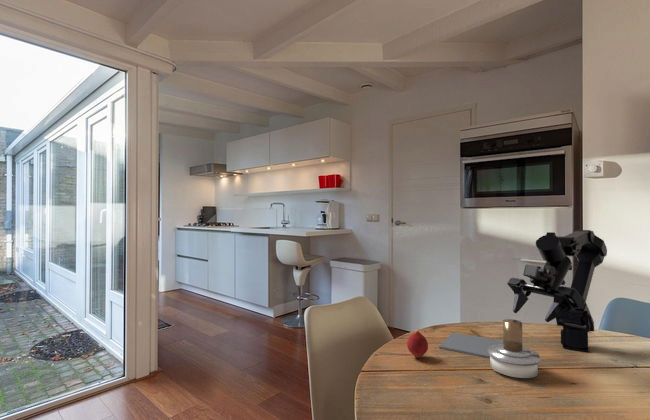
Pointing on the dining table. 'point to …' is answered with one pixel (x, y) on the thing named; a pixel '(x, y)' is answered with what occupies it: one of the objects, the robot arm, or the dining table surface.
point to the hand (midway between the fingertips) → (529, 316)
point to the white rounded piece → (514, 369)
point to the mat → (469, 344)
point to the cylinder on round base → (513, 346)
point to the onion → (417, 344)
